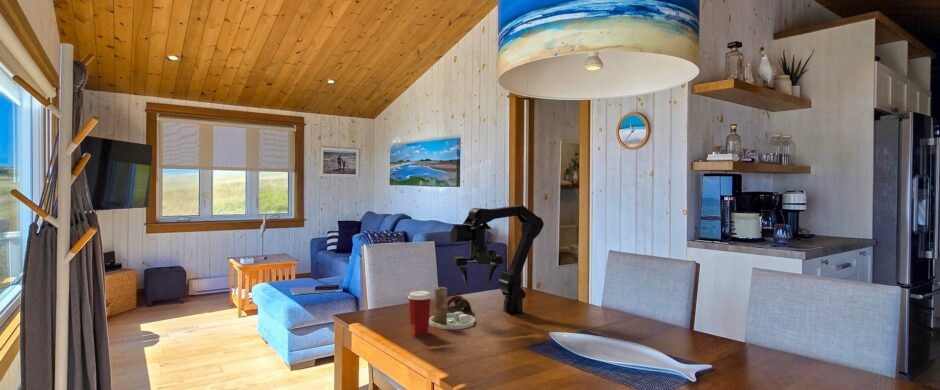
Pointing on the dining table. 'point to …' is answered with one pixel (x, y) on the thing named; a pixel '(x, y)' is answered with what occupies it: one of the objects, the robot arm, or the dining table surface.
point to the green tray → (452, 322)
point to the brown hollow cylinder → (458, 304)
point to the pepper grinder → (440, 305)
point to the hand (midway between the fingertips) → (477, 283)
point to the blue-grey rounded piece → (457, 315)
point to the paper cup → (419, 312)
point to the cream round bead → (463, 318)
